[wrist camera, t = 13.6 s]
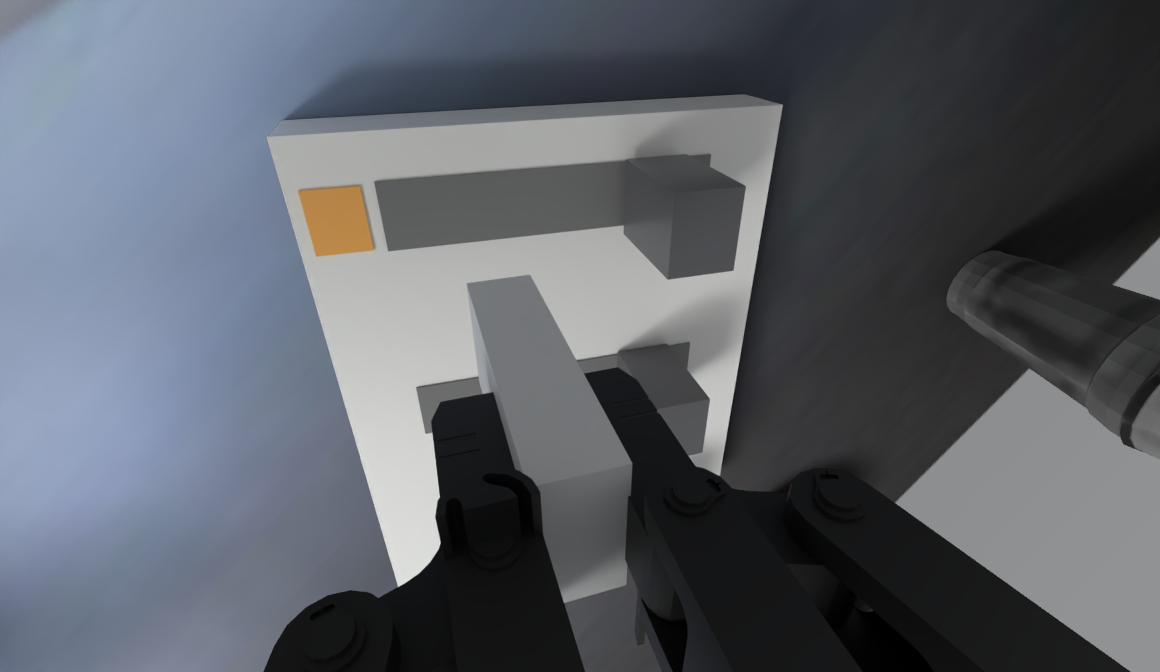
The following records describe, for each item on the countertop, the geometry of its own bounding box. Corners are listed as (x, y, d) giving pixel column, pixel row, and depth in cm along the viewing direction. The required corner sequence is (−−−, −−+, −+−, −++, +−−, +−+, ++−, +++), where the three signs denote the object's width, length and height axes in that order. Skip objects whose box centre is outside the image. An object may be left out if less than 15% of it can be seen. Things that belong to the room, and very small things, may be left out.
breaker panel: (399, 546, 33) (399, 675, 27) (282, 120, 20) (231, 173, 14) (692, 480, 37) (751, 577, 31) (744, 94, 25) (861, 126, 18)
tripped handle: (623, 233, 23) (667, 279, 19) (626, 158, 21) (674, 193, 17) (679, 227, 23) (733, 270, 19) (686, 153, 22) (745, 186, 18)
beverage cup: (979, 339, 38) (1422, 598, 22) (906, 325, 35) (1349, 610, 19) (1049, 241, 35) (1626, 456, 19) (974, 217, 32) (1576, 445, 16)
